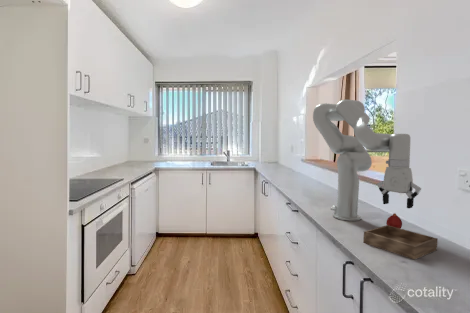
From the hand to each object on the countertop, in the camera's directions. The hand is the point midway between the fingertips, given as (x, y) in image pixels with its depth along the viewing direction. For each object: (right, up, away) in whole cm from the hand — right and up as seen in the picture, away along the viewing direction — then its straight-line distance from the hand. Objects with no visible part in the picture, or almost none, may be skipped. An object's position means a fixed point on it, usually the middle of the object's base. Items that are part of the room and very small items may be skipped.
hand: (397, 205), depth 126 cm
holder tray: (-7, -12, -15) cm, 21 cm away
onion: (-1, -11, +2) cm, 11 cm away
